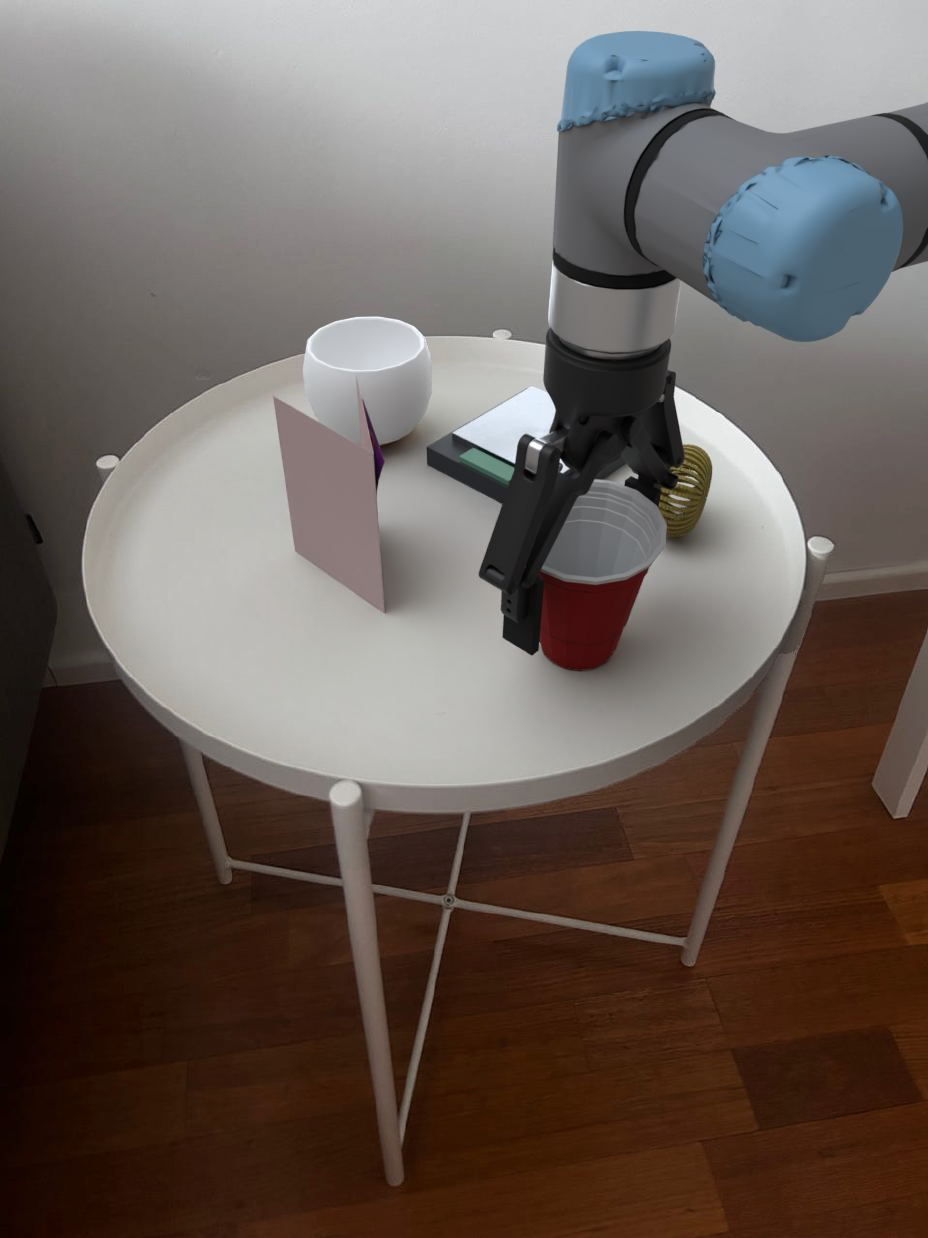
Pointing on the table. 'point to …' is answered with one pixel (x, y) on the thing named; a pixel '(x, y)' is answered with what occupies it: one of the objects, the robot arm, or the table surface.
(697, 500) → the sculpture
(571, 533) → the plastic cup
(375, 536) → the greeting card
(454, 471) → the scale
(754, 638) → the table surface
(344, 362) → the cup
